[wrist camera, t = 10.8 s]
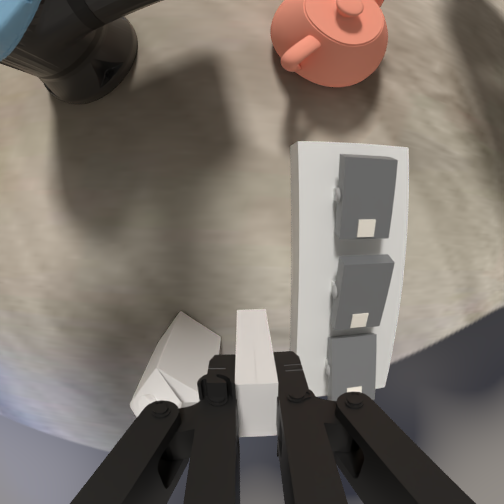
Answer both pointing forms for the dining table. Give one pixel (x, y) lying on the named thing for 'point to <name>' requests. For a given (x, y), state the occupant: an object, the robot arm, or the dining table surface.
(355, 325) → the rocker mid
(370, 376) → the rocker
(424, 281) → the dining table surface
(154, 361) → the milk carton
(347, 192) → the plate
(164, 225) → the dining table surface
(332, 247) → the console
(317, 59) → the teapot
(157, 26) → the dining table surface
